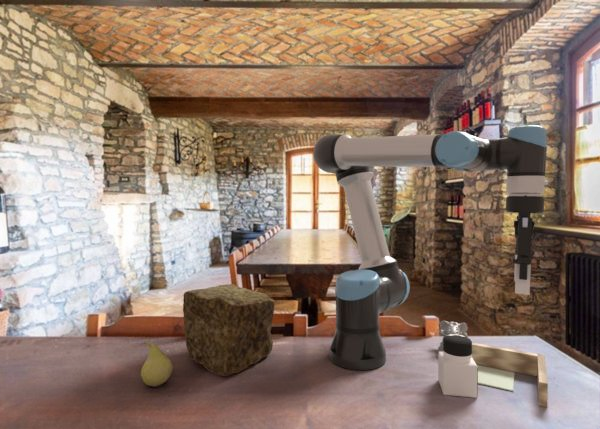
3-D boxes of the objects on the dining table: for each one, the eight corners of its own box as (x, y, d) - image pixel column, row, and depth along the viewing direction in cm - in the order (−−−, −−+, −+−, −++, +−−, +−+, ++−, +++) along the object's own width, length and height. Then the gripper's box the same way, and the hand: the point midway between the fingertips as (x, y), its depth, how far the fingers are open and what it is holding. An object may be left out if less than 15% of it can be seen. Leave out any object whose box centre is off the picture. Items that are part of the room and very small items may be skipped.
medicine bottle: (478, 398, 81) (478, 344, 81) (443, 395, 83) (443, 341, 82) (469, 382, 88) (470, 332, 88) (438, 380, 90) (438, 330, 89)
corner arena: (439, 382, 88) (439, 361, 88) (451, 357, 103) (451, 339, 102) (547, 407, 77) (547, 383, 77) (544, 375, 92) (544, 355, 91)
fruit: (178, 380, 90) (177, 331, 90) (156, 395, 83) (155, 342, 83) (155, 376, 93) (154, 328, 92) (132, 391, 86) (131, 339, 85)
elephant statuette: (441, 358, 103) (442, 331, 102) (429, 339, 115) (430, 315, 114) (476, 359, 102) (477, 332, 102) (460, 340, 114) (461, 316, 114)
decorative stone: (226, 276, 116) (281, 283, 106) (226, 340, 116) (280, 354, 107) (172, 288, 97) (231, 299, 88) (172, 366, 98) (231, 384, 88)
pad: (464, 380, 89) (464, 379, 89) (470, 364, 98) (470, 363, 98) (513, 391, 84) (513, 390, 84) (514, 373, 92) (514, 372, 92)
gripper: (549, 195, 73) (545, 302, 74) (540, 195, 94) (536, 278, 96) (505, 195, 76) (501, 297, 77) (506, 195, 98) (503, 275, 99)
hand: (521, 287), depth 86 cm, fingers open, 13 cm apart
